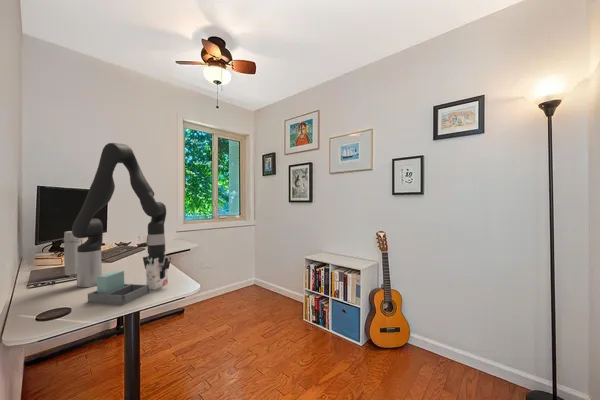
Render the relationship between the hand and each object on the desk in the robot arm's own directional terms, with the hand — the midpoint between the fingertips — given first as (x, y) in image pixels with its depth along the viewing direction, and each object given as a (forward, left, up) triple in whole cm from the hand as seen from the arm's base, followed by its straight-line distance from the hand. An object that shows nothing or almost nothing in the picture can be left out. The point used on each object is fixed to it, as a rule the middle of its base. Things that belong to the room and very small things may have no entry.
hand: (157, 277), depth 124 cm
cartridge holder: (-6, -15, -4) cm, 17 cm away
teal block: (-10, -15, -4) cm, 19 cm away
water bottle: (-62, +10, -5) cm, 63 cm away
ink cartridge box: (0, 0, -5) cm, 5 cm away
